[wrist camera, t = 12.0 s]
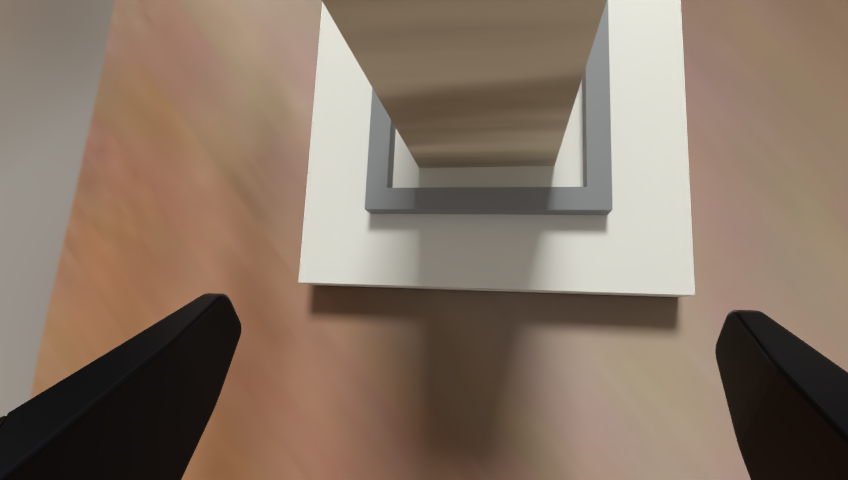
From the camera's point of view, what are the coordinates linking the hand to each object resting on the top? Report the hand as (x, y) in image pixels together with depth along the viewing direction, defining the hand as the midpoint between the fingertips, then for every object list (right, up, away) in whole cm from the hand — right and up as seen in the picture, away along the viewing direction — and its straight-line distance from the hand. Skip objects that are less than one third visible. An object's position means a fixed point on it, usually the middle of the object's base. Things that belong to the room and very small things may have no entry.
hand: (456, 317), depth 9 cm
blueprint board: (+2, +6, +11) cm, 13 cm away
